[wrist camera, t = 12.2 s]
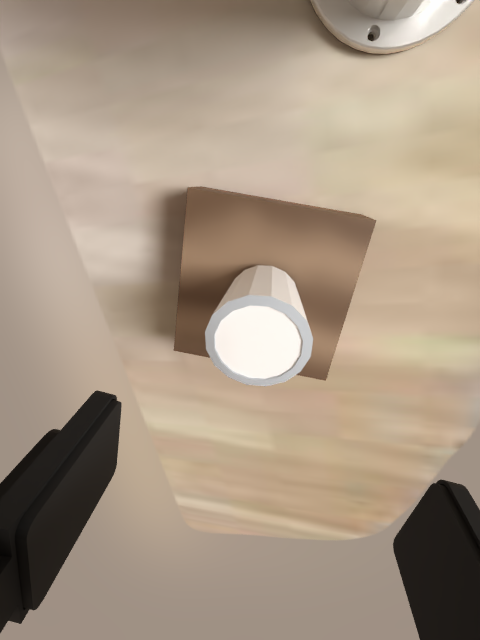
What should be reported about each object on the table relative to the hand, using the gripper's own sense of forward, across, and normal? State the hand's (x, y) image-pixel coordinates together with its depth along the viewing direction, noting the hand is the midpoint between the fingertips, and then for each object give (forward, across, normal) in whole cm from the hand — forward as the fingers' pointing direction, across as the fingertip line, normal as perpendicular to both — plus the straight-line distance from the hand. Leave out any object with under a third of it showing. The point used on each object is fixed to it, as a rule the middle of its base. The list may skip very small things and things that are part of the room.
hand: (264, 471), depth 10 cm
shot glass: (+18, +1, +1) cm, 18 cm away
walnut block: (+23, +1, +1) cm, 23 cm away
